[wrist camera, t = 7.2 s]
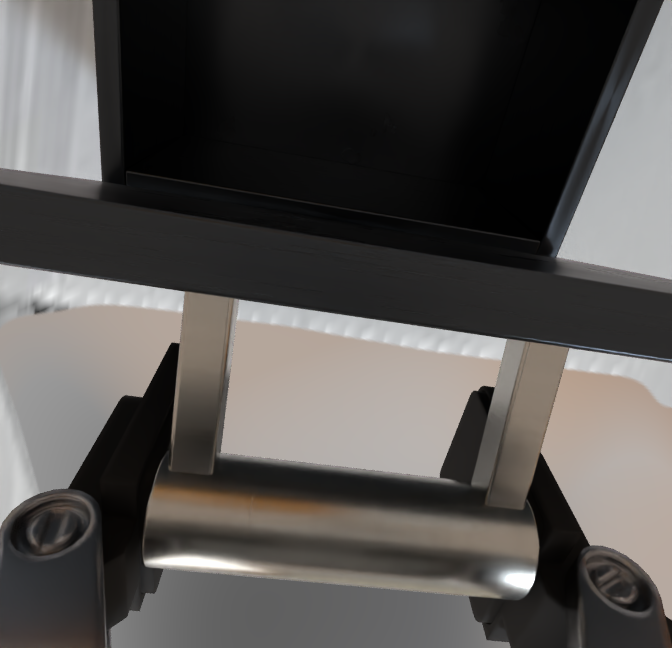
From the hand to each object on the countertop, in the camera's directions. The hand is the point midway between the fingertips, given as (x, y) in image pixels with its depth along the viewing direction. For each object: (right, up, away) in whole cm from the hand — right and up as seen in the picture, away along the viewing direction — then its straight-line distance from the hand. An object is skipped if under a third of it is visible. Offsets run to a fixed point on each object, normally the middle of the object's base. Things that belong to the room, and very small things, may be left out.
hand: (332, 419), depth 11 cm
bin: (+1, +15, +11) cm, 19 cm away
